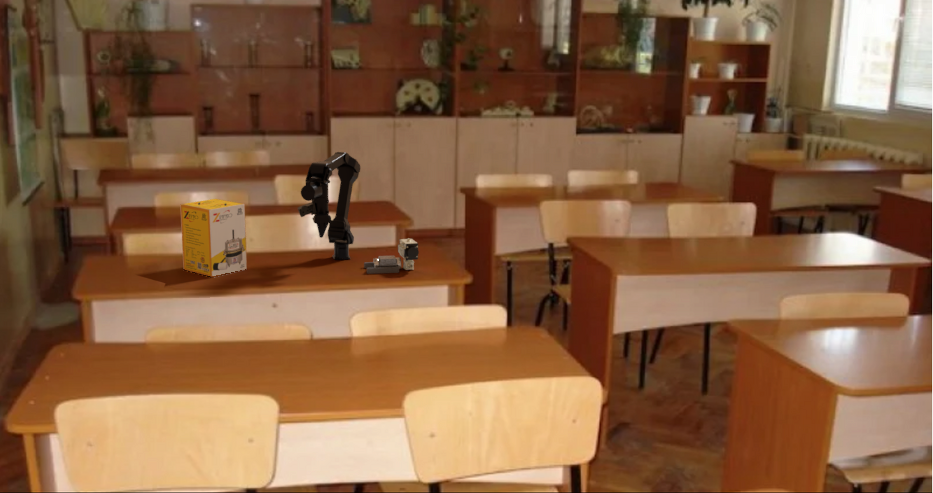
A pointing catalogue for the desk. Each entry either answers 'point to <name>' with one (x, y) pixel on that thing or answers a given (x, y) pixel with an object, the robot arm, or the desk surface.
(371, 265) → the guide channel
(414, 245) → the pneumatic valve
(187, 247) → the packaging box
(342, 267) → the desk surface
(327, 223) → the robot arm
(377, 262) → the coupling
